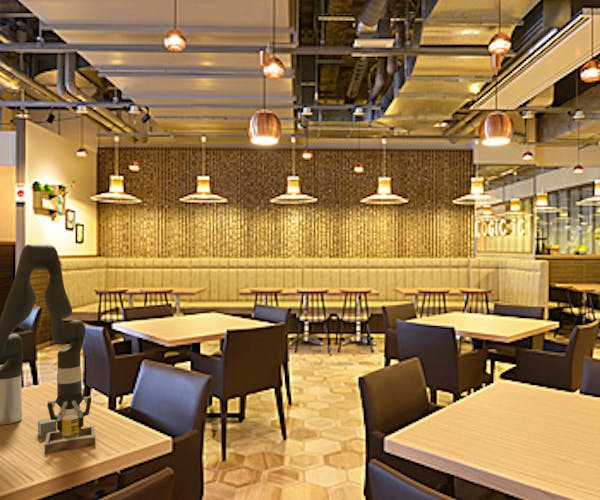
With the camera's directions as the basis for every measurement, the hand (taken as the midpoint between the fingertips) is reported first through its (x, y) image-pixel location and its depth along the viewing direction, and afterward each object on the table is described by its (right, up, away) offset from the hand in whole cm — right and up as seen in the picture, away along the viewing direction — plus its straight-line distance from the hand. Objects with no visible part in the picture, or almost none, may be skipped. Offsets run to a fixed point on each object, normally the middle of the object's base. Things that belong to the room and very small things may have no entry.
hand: (70, 429), depth 171 cm
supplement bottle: (0, -3, 0) cm, 3 cm away
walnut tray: (0, -5, 0) cm, 5 cm away
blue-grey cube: (-12, -5, +9) cm, 16 cm away
